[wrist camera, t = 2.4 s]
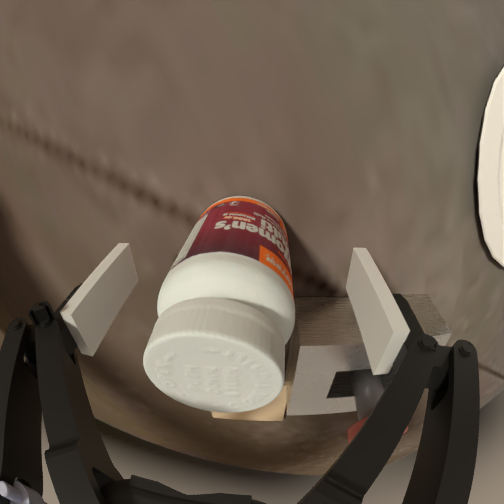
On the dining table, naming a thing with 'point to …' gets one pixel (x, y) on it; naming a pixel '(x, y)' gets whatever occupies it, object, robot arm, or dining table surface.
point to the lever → (364, 397)
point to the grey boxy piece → (337, 352)
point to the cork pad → (260, 410)
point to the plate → (492, 170)
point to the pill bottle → (225, 311)
